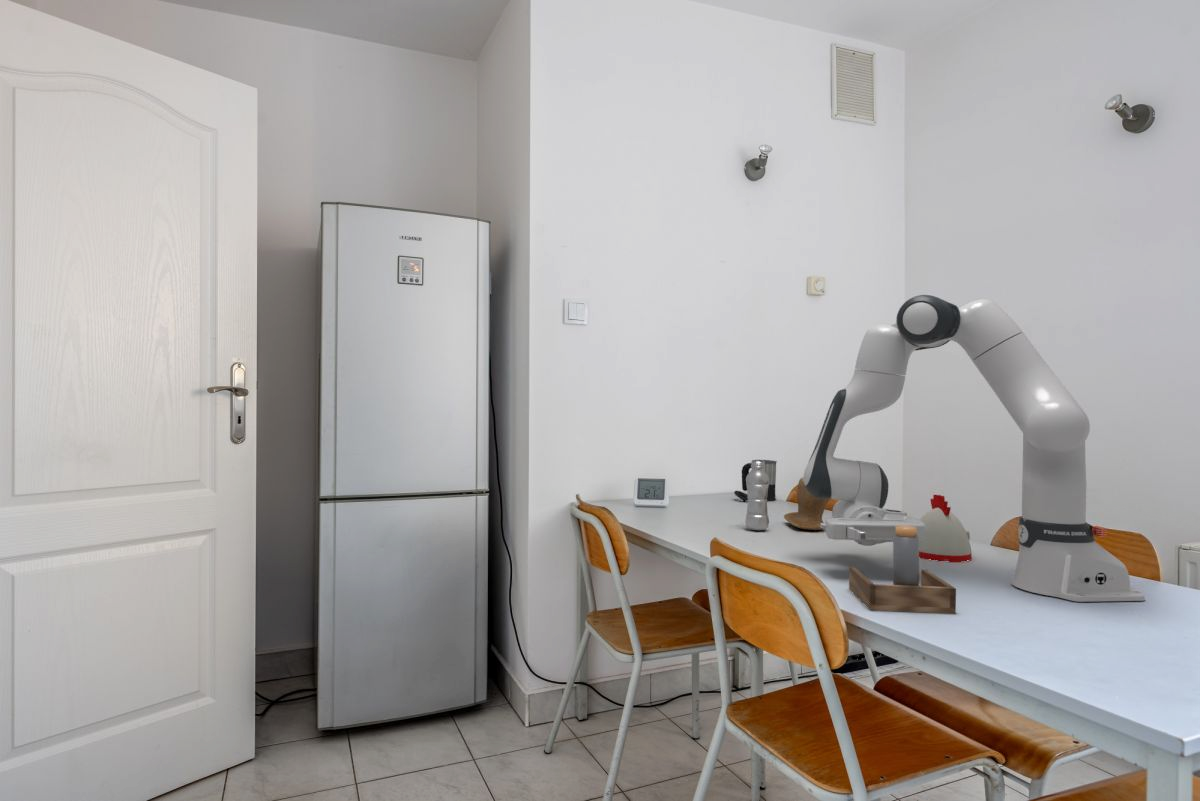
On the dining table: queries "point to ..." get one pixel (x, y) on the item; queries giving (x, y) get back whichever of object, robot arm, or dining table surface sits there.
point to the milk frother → (771, 473)
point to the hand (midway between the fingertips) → (885, 536)
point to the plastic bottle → (757, 497)
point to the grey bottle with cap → (906, 556)
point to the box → (905, 594)
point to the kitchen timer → (944, 534)
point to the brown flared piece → (807, 510)
